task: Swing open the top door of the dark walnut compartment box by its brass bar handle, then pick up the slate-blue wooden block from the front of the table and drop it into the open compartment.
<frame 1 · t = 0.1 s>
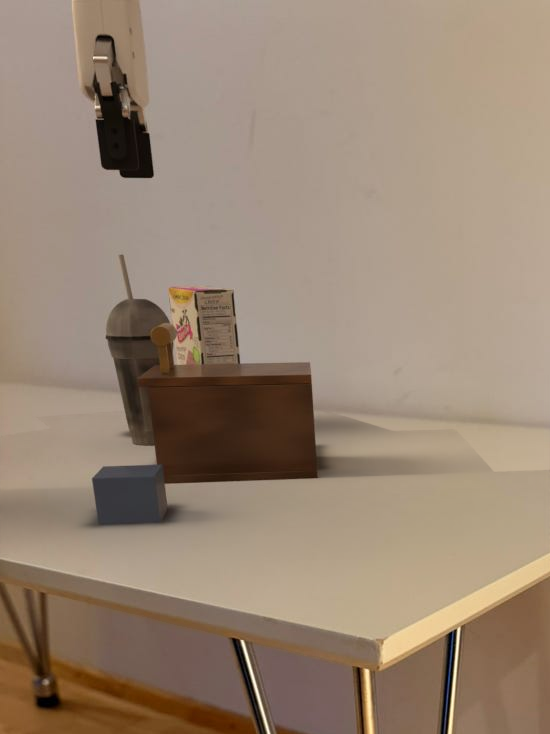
hand: (129, 173, 93), 27 cm above the table, tool pointing down, fingers open, 9 cm apart
lid: (227, 351, 94), point 11 cm above the table, hinge at 0.0°
block: (135, 528, 77), on the table
candy bar box: (214, 427, 123), on the table
chest: (242, 469, 98), on the table
beverage cup: (153, 443, 113), on the table
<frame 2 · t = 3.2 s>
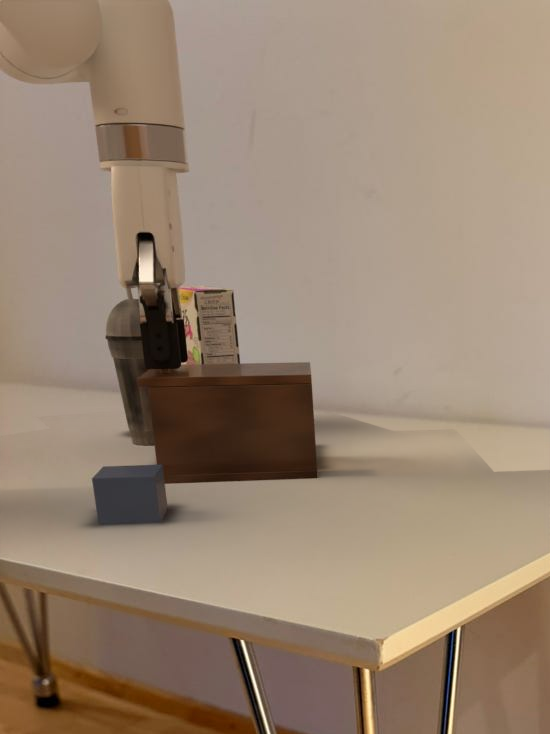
hand: (167, 363, 93), 10 cm above the table, tool pointing down, fingers closed on lid, 5 cm apart
lid: (227, 351, 94), point 11 cm above the table, hinge at 0.0°, touching gripper
everything else where it was.
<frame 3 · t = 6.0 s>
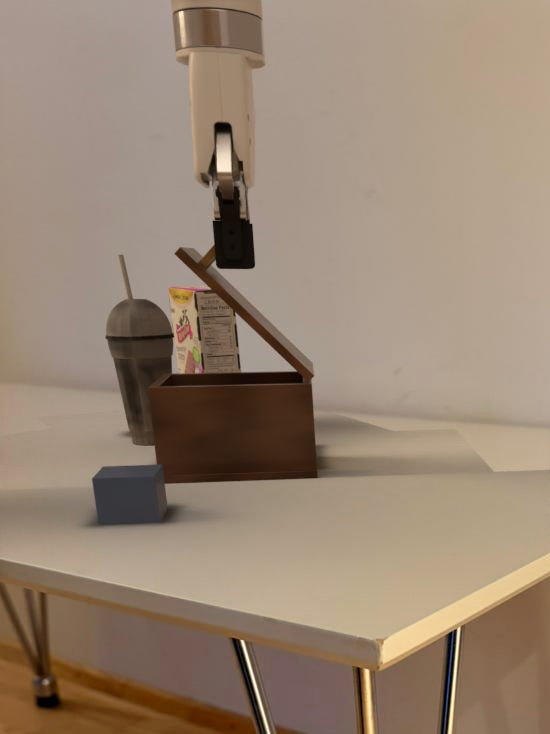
hand: (236, 266, 91), 19 cm above the table, tool pointing down, fingers closed on lid, 5 cm apart
lid: (264, 296, 93), point 16 cm above the table, hinge at 45.7°, touching gripper
everything else where it was.
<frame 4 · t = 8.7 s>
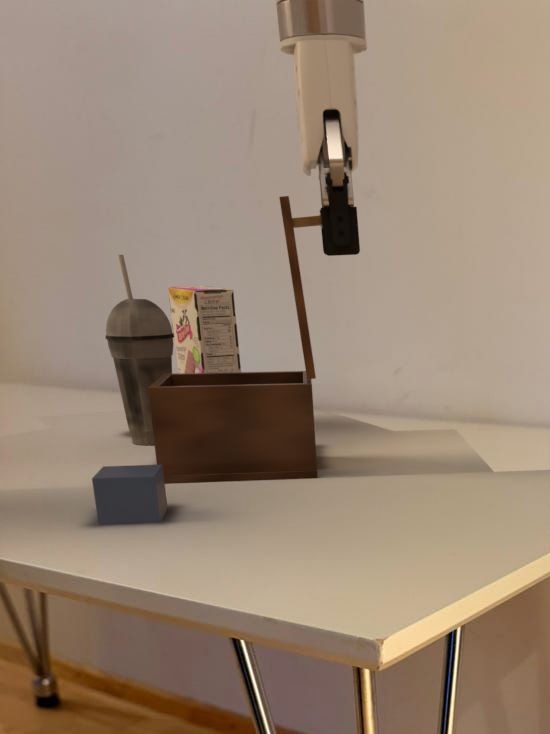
hand: (341, 252, 92), 20 cm above the table, tool pointing down, fingers closed on lid, 5 cm apart
lid: (320, 286, 93), point 17 cm above the table, hinge at 84.9°, touching gripper
everything else where it was.
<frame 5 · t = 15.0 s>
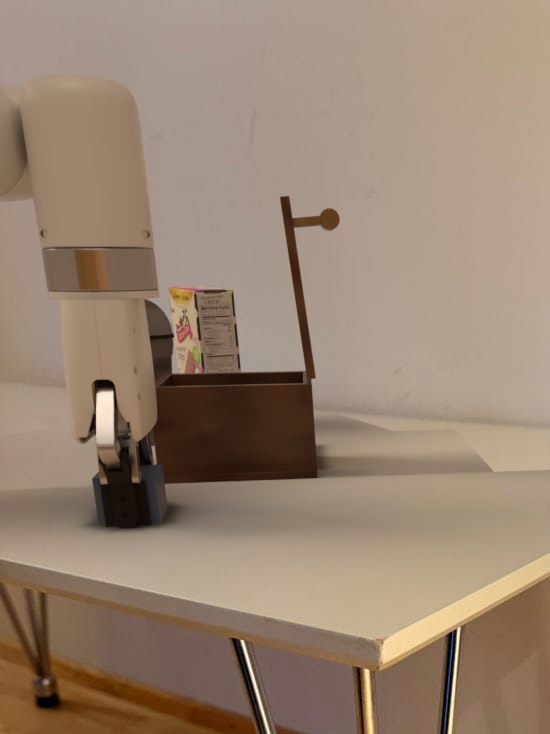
hand: (135, 523, 76), 0 cm above the table, tool pointing down, fingers closed on block, 4 cm apart
lid: (320, 286, 93), point 17 cm above the table, hinge at 85.0°
block: (135, 528, 77), on the table, touching gripper
everything else where it was.
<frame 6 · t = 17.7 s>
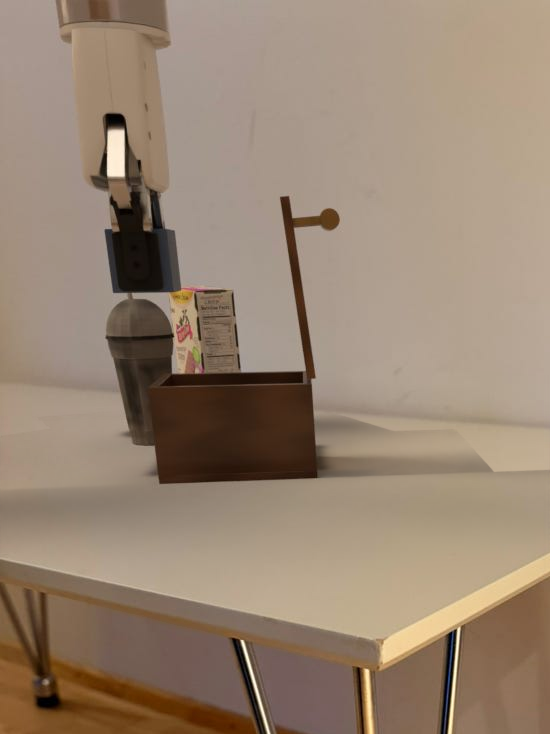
hand: (147, 286, 77), 18 cm above the table, tool pointing down, fingers closed on block, 4 cm apart
block: (148, 291, 77), point 17 cm above the table, touching gripper
everything else where it was.
when the fingers open (9 cm above the table, at t = 20.8 s): block drops 8 cm, resting on chest.
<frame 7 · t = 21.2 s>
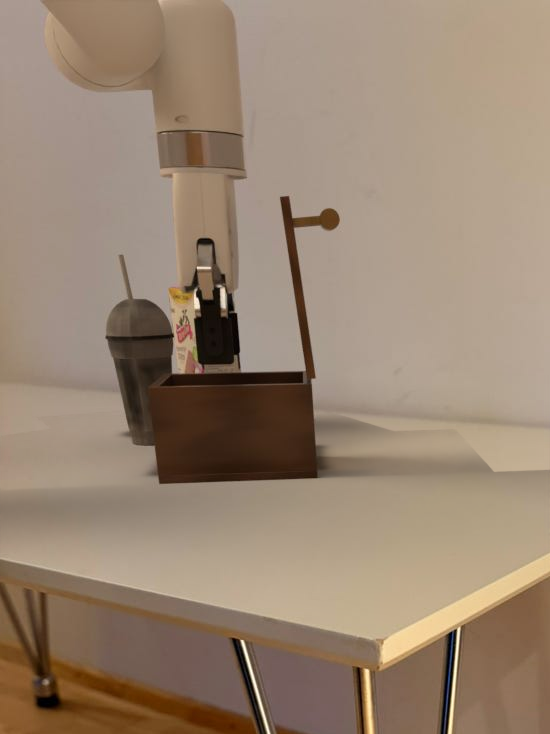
hand: (220, 359, 94), 11 cm above the table, tool pointing down, fingers open, 9 cm apart
block: (231, 461, 97), point 1 cm above the table, touching chest
everything else where it was.
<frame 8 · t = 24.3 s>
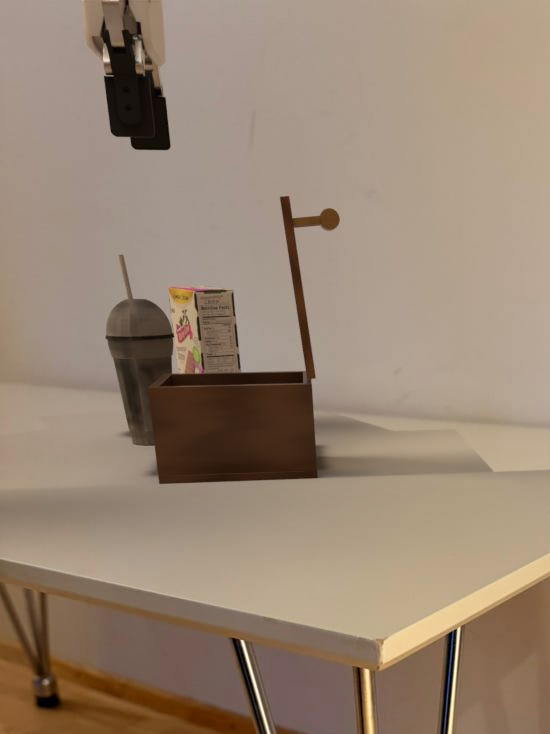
hand: (143, 143, 79), 28 cm above the table, tool pointing down, fingers open, 9 cm apart
nothing on the table moved.
at the end: lid at +85° (first picture: +0°); block inside the target area in the chest (1.0 cm from its centre), point 0.8 cm above the chest's base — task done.
